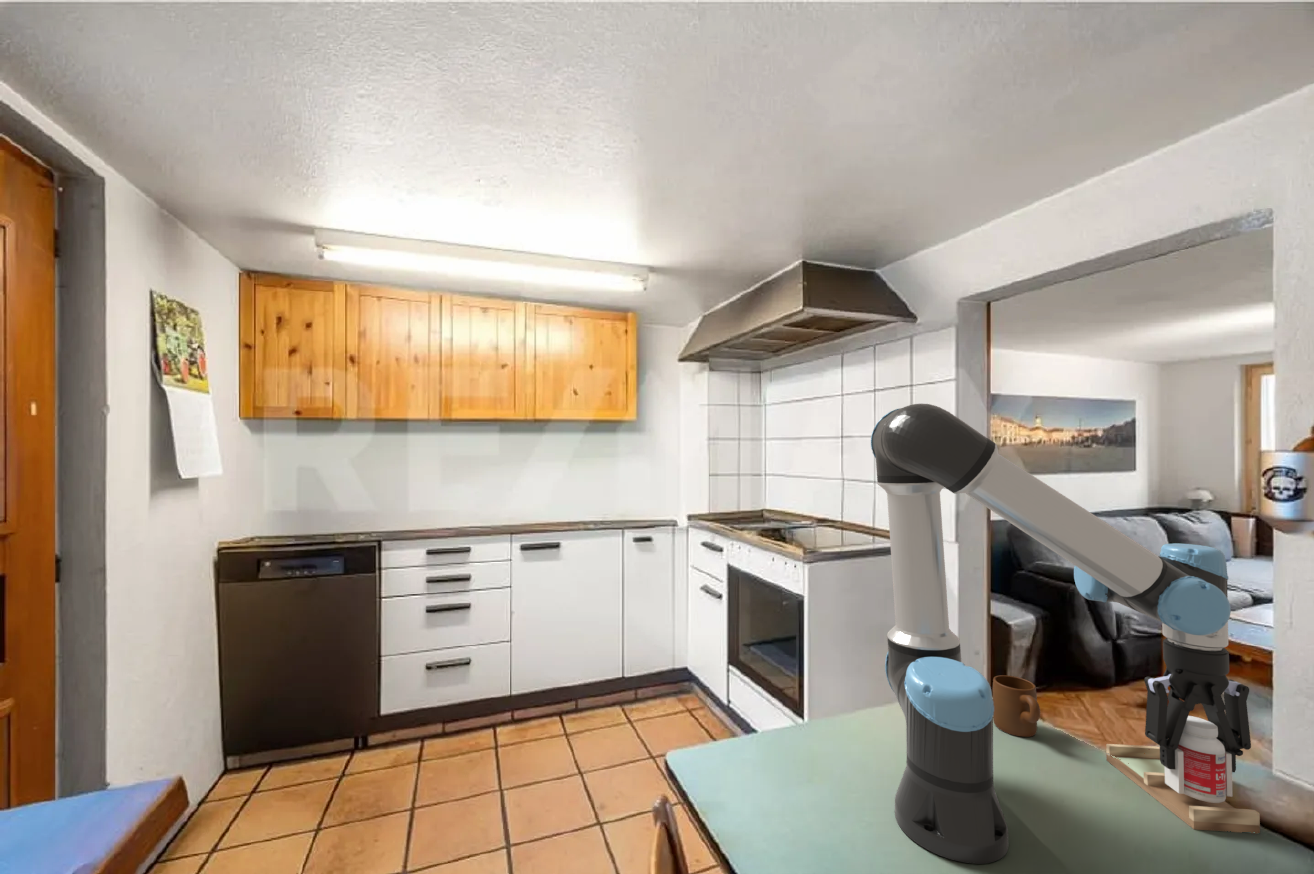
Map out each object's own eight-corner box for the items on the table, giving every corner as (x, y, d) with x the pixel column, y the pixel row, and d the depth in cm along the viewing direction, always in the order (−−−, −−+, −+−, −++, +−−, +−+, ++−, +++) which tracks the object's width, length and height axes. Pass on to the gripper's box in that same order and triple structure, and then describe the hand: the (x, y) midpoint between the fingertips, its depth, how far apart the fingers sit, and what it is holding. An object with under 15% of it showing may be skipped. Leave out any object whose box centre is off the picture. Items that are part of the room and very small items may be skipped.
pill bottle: (1226, 810, 82) (1224, 736, 83) (1170, 792, 87) (1169, 721, 87) (1226, 792, 87) (1224, 721, 87) (1173, 775, 91) (1171, 708, 91)
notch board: (1193, 829, 83) (1193, 809, 83) (1106, 760, 101) (1106, 743, 101) (1259, 833, 82) (1259, 813, 82) (1159, 763, 100) (1159, 746, 100)
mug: (1059, 751, 104) (1058, 701, 104) (1016, 749, 105) (1016, 699, 105) (1024, 720, 116) (1023, 675, 116) (986, 718, 117) (985, 673, 117)
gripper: (1148, 649, 85) (1151, 800, 84) (1285, 653, 83) (1289, 809, 82) (1112, 633, 92) (1115, 772, 92) (1238, 636, 90) (1241, 779, 90)
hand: (1198, 789), depth 87 cm, fingers closed on pill bottle, 6 cm apart
